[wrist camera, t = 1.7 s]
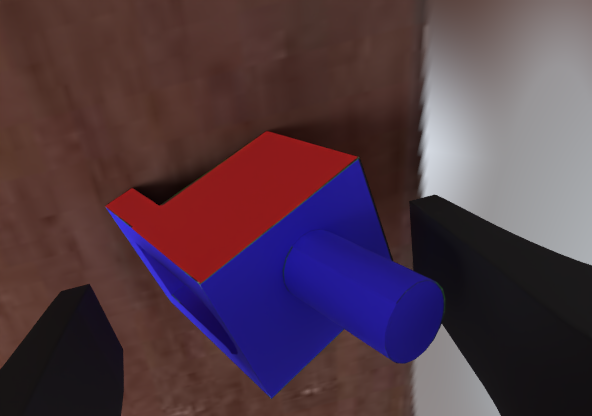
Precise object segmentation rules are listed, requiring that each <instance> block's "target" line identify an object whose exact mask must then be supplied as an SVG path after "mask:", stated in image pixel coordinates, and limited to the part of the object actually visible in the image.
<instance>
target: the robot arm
mask: <svg viewBox="0 0 592 416" xmlns="http://www.w3.org/2000/svg"><path fill="white" fill-rule="evenodd" d="M409 203H410V220H411V236H412V253H413V270H414V272H417V273H419V274H421V275H423V276H425V277H427V278H429V279H431V280H434V281H436V282H437V283H438V284H439V285H440V286H441V287H442V288H443V292H444V295H445V313H444V316H443V320H442V324H443V326H444V327H445V329H446V330H447V332H448V333H449V335H450V336H451V338H452V339H453V341H454V342H455V344H456V345H457V347H458V348H459V350H460V351H461V353H462V354H463V356H464V357H465V358H466V360H467V362H468V363H469V365H470V366H471V368H472V369H473V371H474V372H475V374H476V375H477V377H478V378H479V380H480V381H481V382H482V384H483V385H484V387H485V389H486V390H487V392H488V394H489V395H490V397H491V399H492V400H493V402H494V404H495V405H496V407H497V409H498V411H499V413H500V415H501V416H592V265H589V264H586V263H583V262H580V261H577V260H574V259H572V258H569V257H566V256H564V255H561V254H558V253H556V252H554V251H552V250H549V249H547V248H544V247H542V246H540V245H537V244H535V243H533V242H530V241H528V240H526V239H524V238H522V237H519V236H517V235H515V234H513V233H511V232H509V231H507V230H504V229H502V228H500V227H498V226H496V225H494V224H492V223H490V222H488V221H486V220H484V219H482V218H480V217H479V216H477V215H475V214H473V213H471V212H469V211H467V210H465V209H463V208H461V207H459V206H457V205H455V204H453V203H451V202H450V201H447V200H446V199H444V198H441V197H439V196H437V195H432V196H428V197H424V198H420V199H416V200H412V201H409ZM123 392H124V370H123V348H122V346H121V344H120V343H119V341H118V339H117V337H116V335H115V333H114V331H113V329H112V327H111V325H110V323H109V321H108V319H107V317H106V315H105V313H104V311H103V309H102V307H101V305H100V303H99V301H98V299H97V297H96V295H95V293H94V291H93V290H92V288H91V286H90V284H87V285H83V286H80V287H76V288H72V289H68V290H64V291H61V292H60V293H59V295H58V296H57V297H56V298H55V299H54V301H53V302H52V303H51V304H50V306H49V307H48V308H47V310H46V311H45V312H44V313H43V315H42V316H41V317H40V319H39V320H38V321H37V323H36V324H35V325H34V327H33V328H32V329H31V331H30V332H29V333H28V335H27V336H26V337H25V339H24V340H23V341H22V342H21V344H20V345H19V346H18V348H17V349H16V350H15V351H14V353H13V354H12V355H11V357H10V358H9V359H8V360H7V362H6V363H5V364H4V366H3V367H2V368H1V369H0V416H121V410H122V402H123Z"/></svg>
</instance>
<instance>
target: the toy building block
mask: <svg viewBox="0 0 592 416" xmlns="http://www.w3.org/2000/svg"><path fill="white" fill-rule="evenodd" d="M105 207H106V209H107V210H108V212H109V213H110V214H111V216H112V217H113V219H114V220H115V222H116V223H117V225H118V226H119V227H120V229H121V230H122V232H123V233H124V235H125V236H126V238H127V239H128V241H129V242H130V243H131V245H132V246H133V248H134V249H135V251H136V252H137V254H138V255H139V256H140V258H141V259H142V261H143V262H144V264H145V265H146V267H147V268H148V270H149V271H150V272H151V274H152V275H153V277H154V278H155V280H156V281H157V283H158V284H159V285H160V287H161V288H162V290H163V291H164V293H165V294H166V296H167V297H168V299H169V300H170V301H171V302H172V303H173V304H174V305H175V306H176V307H177V308H178V309H179V310H180V311H181V312H182V313H183V314H184V315H185V316H186V317H187V318H188V319H189V320H190V321H191V322H192V323H193V324H194V325H196V326H197V327H198V328H199V329H200V330H201V331H202V332H203V333H204V334H205V335H206V336H207V337H208V338H209V339H210V340H211V341H212V342H213V343H214V344H215V345H216V346H217V347H218V348H219V349H220V350H221V351H222V352H223V353H225V354H226V355H227V356H228V357H229V358H230V359H231V360H232V361H233V362H234V363H235V364H236V365H237V366H238V367H239V368H240V369H241V370H242V371H243V372H244V373H245V374H246V375H247V376H248V377H249V378H250V379H251V380H252V381H253V382H255V383H256V384H257V385H258V386H259V387H260V388H261V389H262V390H263V391H264V392H265V393H266V394H267V395H268V396H269V397H270V398H271V399H272V398H273V397H274V396H275V395H276V394H277V393H278V392H279V391H280V390H281V389H282V388H283V387H285V386H286V385H287V384H288V383H289V382H290V381H291V380H292V379H293V378H294V377H295V376H296V375H297V374H298V373H299V372H300V371H301V370H302V369H303V368H304V367H305V366H306V365H307V364H309V363H310V362H311V361H312V360H313V359H314V358H315V357H316V356H317V355H318V354H319V353H320V352H321V351H322V350H323V349H324V348H325V347H326V346H327V345H328V344H329V343H330V342H331V341H332V340H334V339H335V338H336V337H337V336H338V335H339V334H340V333H341V332H342V331H343V330H344V329H345V330H347V331H348V332H350V333H351V334H353V335H354V336H356V337H357V338H359V339H360V340H362V341H363V342H365V343H366V344H368V345H369V346H371V347H372V348H374V349H375V350H377V351H378V352H380V353H381V354H383V355H384V356H386V357H387V358H389V359H391V360H392V361H394V362H395V363H408V362H410V361H412V360H414V359H416V358H417V357H418V356H420V355H421V354H422V353H423V352H424V351H425V350H426V349H427V348H428V346H429V345H430V344H431V343H432V341H433V340H434V338H435V336H436V334H437V332H438V330H439V328H440V326H441V324H442V320H443V316H444V313H445V295H444V292H443V288H442V287H441V286H440V285H439V284H438V283H437V282H436V281H434V280H431V279H429V278H427V277H425V276H423V275H421V274H419V273H417V272H414V271H412V270H410V269H408V268H406V267H404V266H402V265H399V264H397V263H395V262H393V259H392V256H391V252H390V249H389V246H388V243H387V240H386V237H385V234H384V231H383V228H382V225H381V222H380V219H379V216H378V212H377V209H376V206H375V203H374V200H373V197H372V194H371V191H370V188H369V185H368V182H367V179H366V175H365V172H364V169H363V166H362V163H361V160H360V157H357V156H353V155H350V154H346V153H343V152H339V151H336V150H332V149H329V148H325V147H322V146H318V145H315V144H311V143H307V142H304V141H300V140H297V139H293V138H290V137H286V136H283V135H279V134H276V133H272V132H269V131H266V132H264V133H263V134H262V135H260V136H259V137H257V138H256V139H254V140H253V141H251V142H250V143H249V144H247V145H246V146H244V147H243V148H241V149H240V150H239V151H237V152H236V153H234V154H233V155H231V156H230V157H229V158H227V159H226V160H224V161H223V162H221V163H220V164H218V165H217V166H216V167H214V168H213V169H211V170H210V171H208V172H207V173H206V174H204V175H203V176H201V177H200V178H198V179H197V180H196V181H194V182H193V183H191V184H190V185H188V186H187V187H186V188H184V189H183V190H181V191H180V192H178V193H177V194H175V195H174V196H173V197H171V198H170V199H168V200H167V201H165V202H164V203H163V204H161V205H160V206H159V205H157V204H156V203H154V202H153V201H151V200H150V199H148V198H147V197H145V196H144V195H142V194H141V193H139V192H138V191H136V190H135V189H133V188H131V189H130V190H128V191H127V192H125V193H124V194H122V195H121V196H119V197H118V198H116V199H115V200H113V201H112V202H110V203H109V204H107V205H106V206H105Z"/></svg>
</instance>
